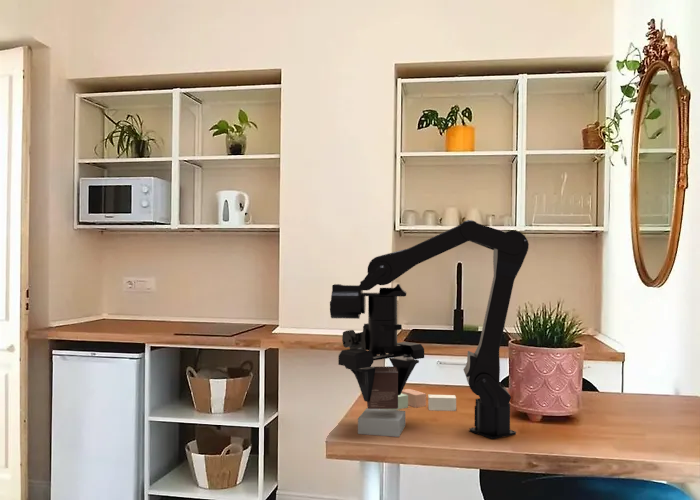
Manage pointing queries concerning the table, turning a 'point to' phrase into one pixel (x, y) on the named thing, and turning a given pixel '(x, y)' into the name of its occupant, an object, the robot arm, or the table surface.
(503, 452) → the table surface
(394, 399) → the box
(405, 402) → the sage brick
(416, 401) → the terracotta brick
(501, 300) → the robot arm
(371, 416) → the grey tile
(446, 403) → the cream brick
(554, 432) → the table surface
